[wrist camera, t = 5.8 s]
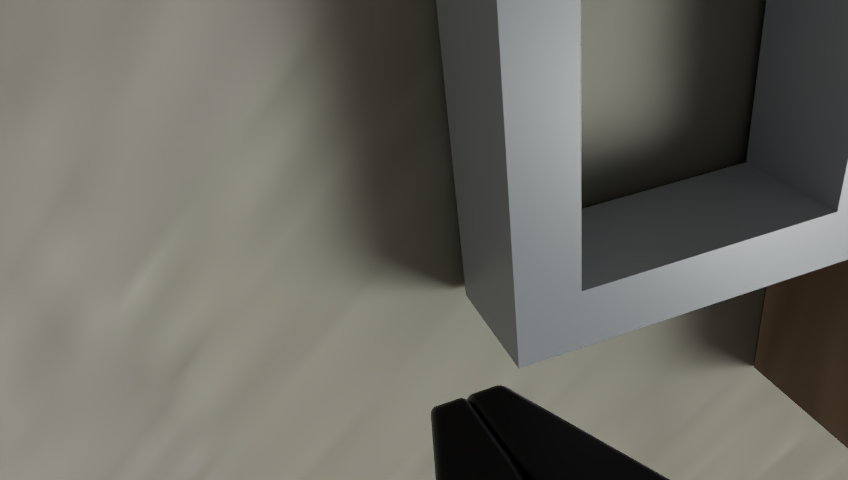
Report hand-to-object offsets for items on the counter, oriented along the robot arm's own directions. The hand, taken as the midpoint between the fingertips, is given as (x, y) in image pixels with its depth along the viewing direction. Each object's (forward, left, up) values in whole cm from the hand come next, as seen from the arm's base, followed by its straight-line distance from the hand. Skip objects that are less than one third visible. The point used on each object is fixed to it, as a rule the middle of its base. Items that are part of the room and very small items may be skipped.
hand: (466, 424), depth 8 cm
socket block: (-8, 0, -9) cm, 12 cm away
